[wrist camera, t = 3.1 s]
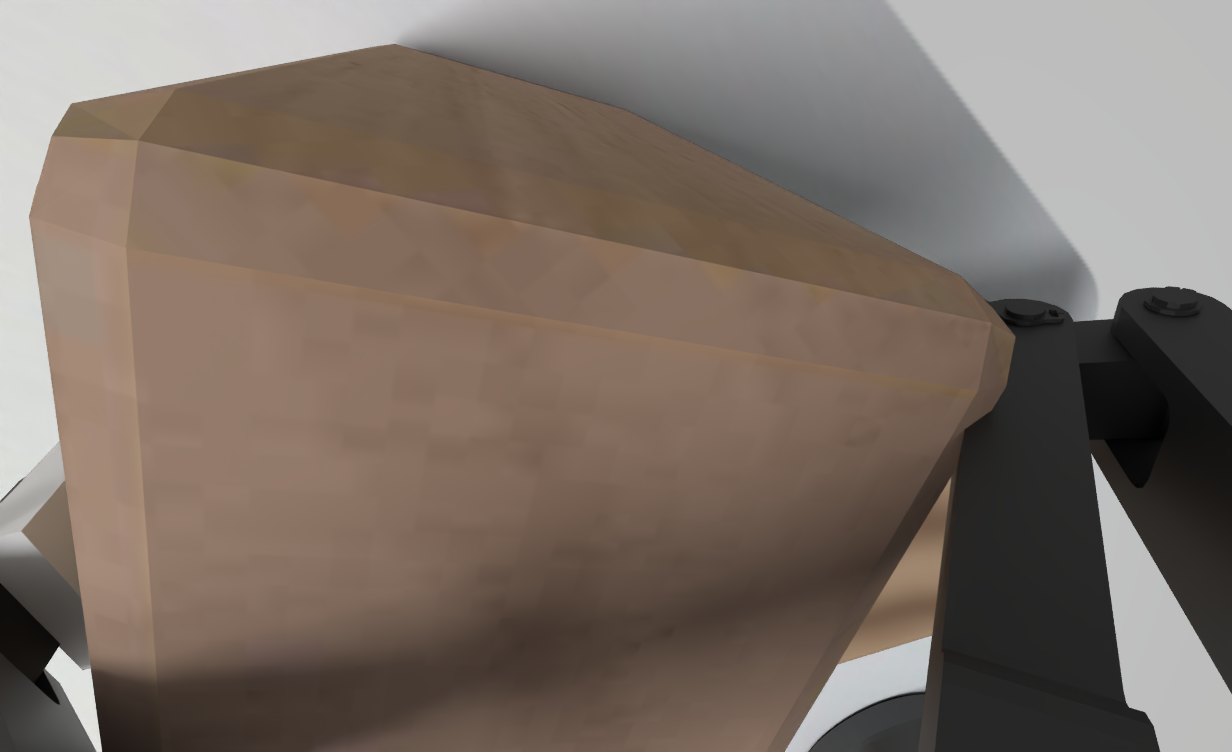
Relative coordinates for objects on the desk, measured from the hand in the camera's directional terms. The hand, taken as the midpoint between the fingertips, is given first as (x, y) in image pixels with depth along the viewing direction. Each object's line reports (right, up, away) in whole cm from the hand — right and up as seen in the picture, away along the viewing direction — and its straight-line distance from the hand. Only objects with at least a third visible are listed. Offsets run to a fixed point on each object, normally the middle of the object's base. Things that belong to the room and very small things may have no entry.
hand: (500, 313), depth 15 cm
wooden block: (-2, +5, +9) cm, 11 cm away
